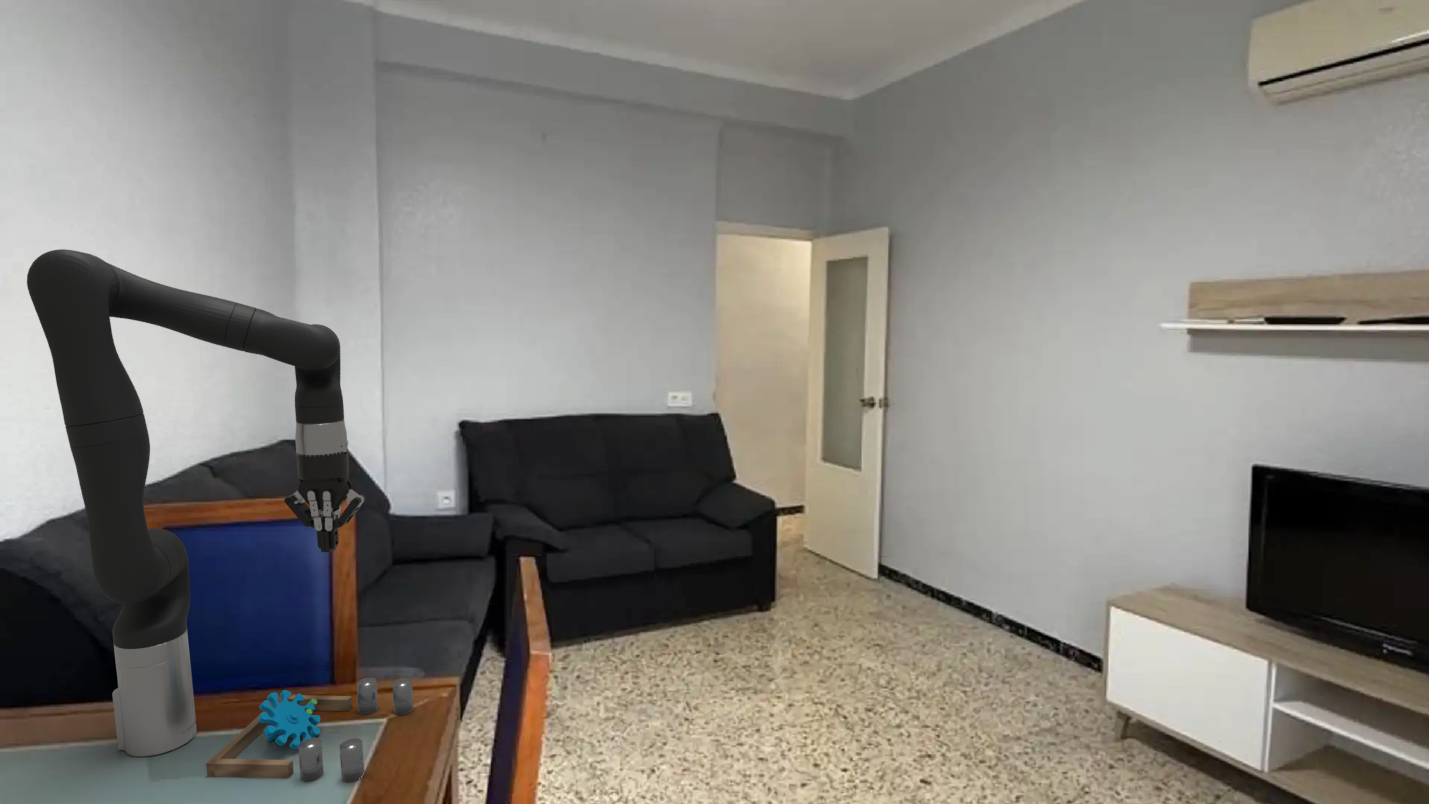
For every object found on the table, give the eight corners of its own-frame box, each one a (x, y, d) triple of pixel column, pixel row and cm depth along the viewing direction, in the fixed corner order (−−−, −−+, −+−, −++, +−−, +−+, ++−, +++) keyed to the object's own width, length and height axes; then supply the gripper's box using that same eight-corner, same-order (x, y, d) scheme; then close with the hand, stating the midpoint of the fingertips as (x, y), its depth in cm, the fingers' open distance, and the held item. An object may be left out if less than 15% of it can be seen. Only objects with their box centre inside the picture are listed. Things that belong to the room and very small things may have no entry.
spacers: (296, 781, 114) (293, 749, 113) (363, 705, 135) (361, 677, 134) (358, 782, 114) (356, 750, 113) (416, 706, 134) (414, 678, 134)
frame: (207, 776, 115) (206, 763, 115) (282, 706, 134) (281, 694, 134) (289, 777, 115) (288, 765, 114) (352, 707, 134) (351, 696, 134)
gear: (291, 754, 118) (250, 701, 119) (265, 778, 119) (225, 726, 120) (339, 724, 129) (302, 676, 130) (316, 747, 129) (279, 699, 131)
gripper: (268, 452, 125) (276, 558, 128) (351, 453, 125) (357, 559, 127) (294, 443, 133) (301, 543, 135) (372, 444, 132) (378, 544, 135)
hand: (328, 550), depth 131 cm, fingers closed
